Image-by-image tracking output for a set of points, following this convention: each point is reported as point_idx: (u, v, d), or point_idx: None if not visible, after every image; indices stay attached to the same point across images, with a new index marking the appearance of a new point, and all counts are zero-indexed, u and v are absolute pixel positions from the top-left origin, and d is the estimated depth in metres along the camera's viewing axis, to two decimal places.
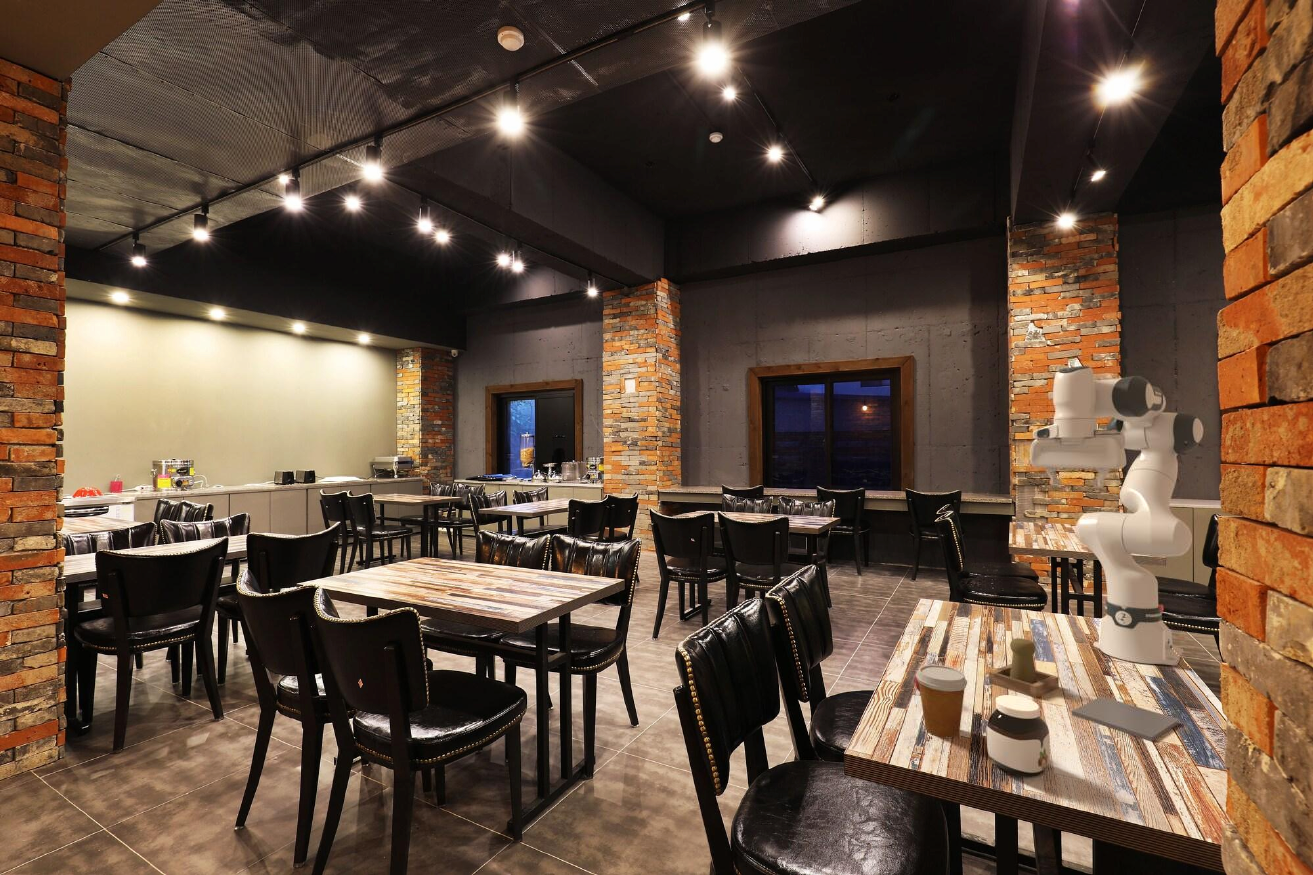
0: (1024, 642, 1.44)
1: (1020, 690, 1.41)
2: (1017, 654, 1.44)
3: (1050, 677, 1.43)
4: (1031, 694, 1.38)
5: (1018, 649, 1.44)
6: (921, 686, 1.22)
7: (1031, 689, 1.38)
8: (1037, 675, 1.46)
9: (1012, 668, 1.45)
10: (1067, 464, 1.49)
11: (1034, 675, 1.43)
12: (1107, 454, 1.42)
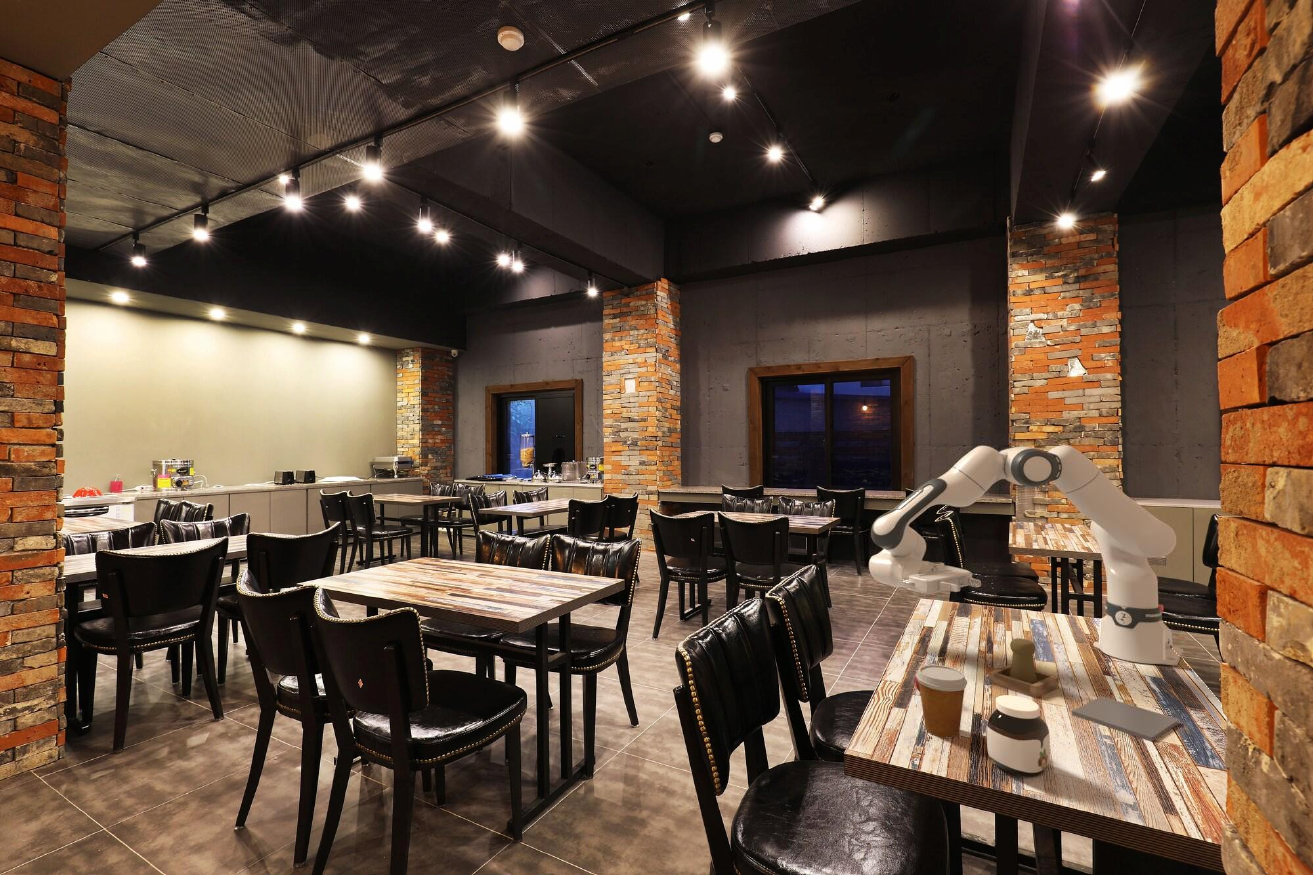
0: (1024, 642, 1.44)
1: (1020, 690, 1.41)
2: (1017, 654, 1.44)
3: (1050, 677, 1.43)
4: (1031, 694, 1.38)
5: (1018, 649, 1.44)
6: (921, 686, 1.22)
7: (1031, 689, 1.38)
8: (1037, 675, 1.46)
9: (1012, 668, 1.45)
10: None
11: (1034, 675, 1.43)
12: None
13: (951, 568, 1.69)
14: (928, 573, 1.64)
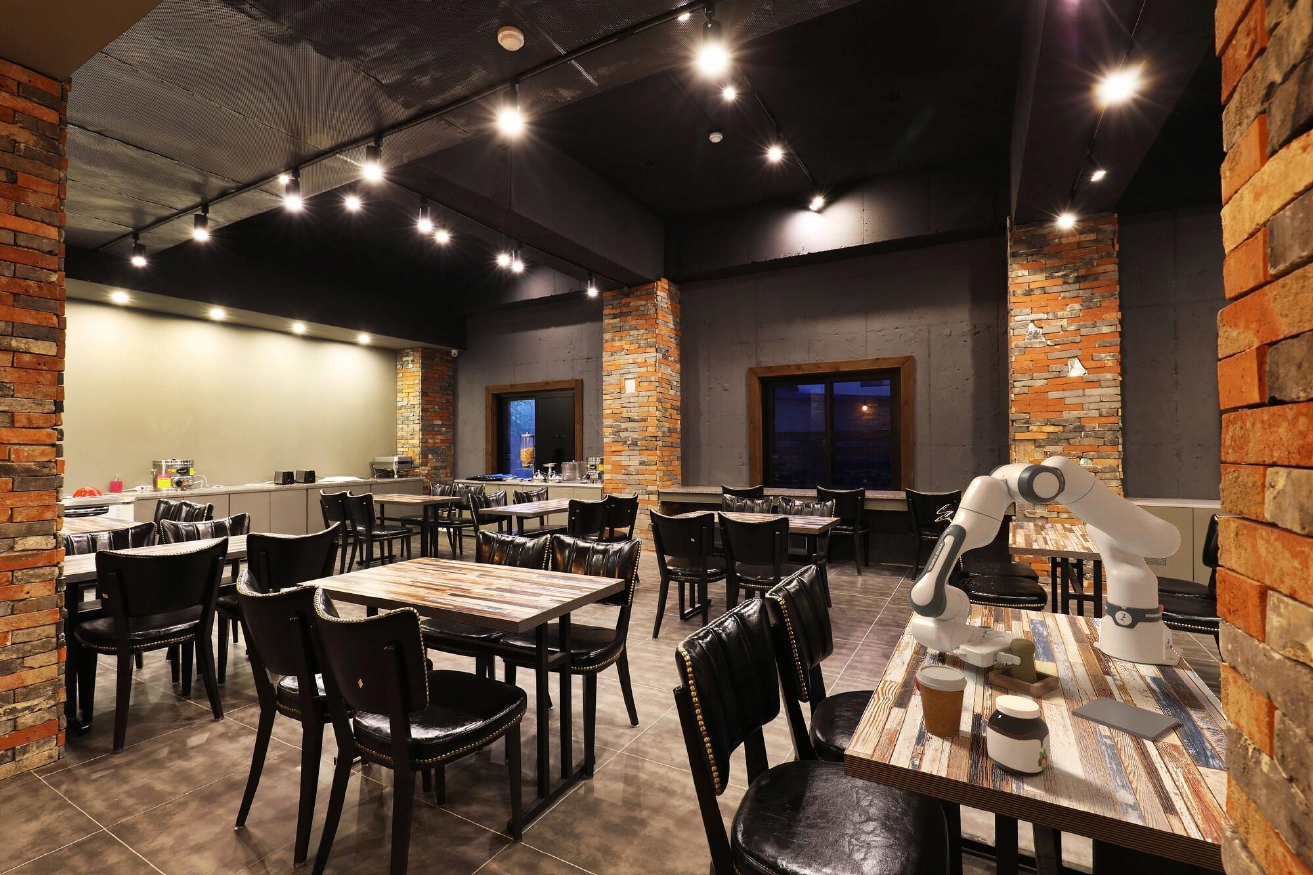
0: (1024, 642, 1.44)
1: (1020, 690, 1.41)
2: (1017, 654, 1.44)
3: (1050, 677, 1.43)
4: (1031, 694, 1.38)
5: (1018, 649, 1.44)
6: (921, 686, 1.22)
7: (1031, 689, 1.38)
8: (1037, 675, 1.46)
9: (1012, 668, 1.45)
10: None
11: (1034, 675, 1.43)
12: None
13: (1003, 633, 1.57)
14: (979, 641, 1.52)
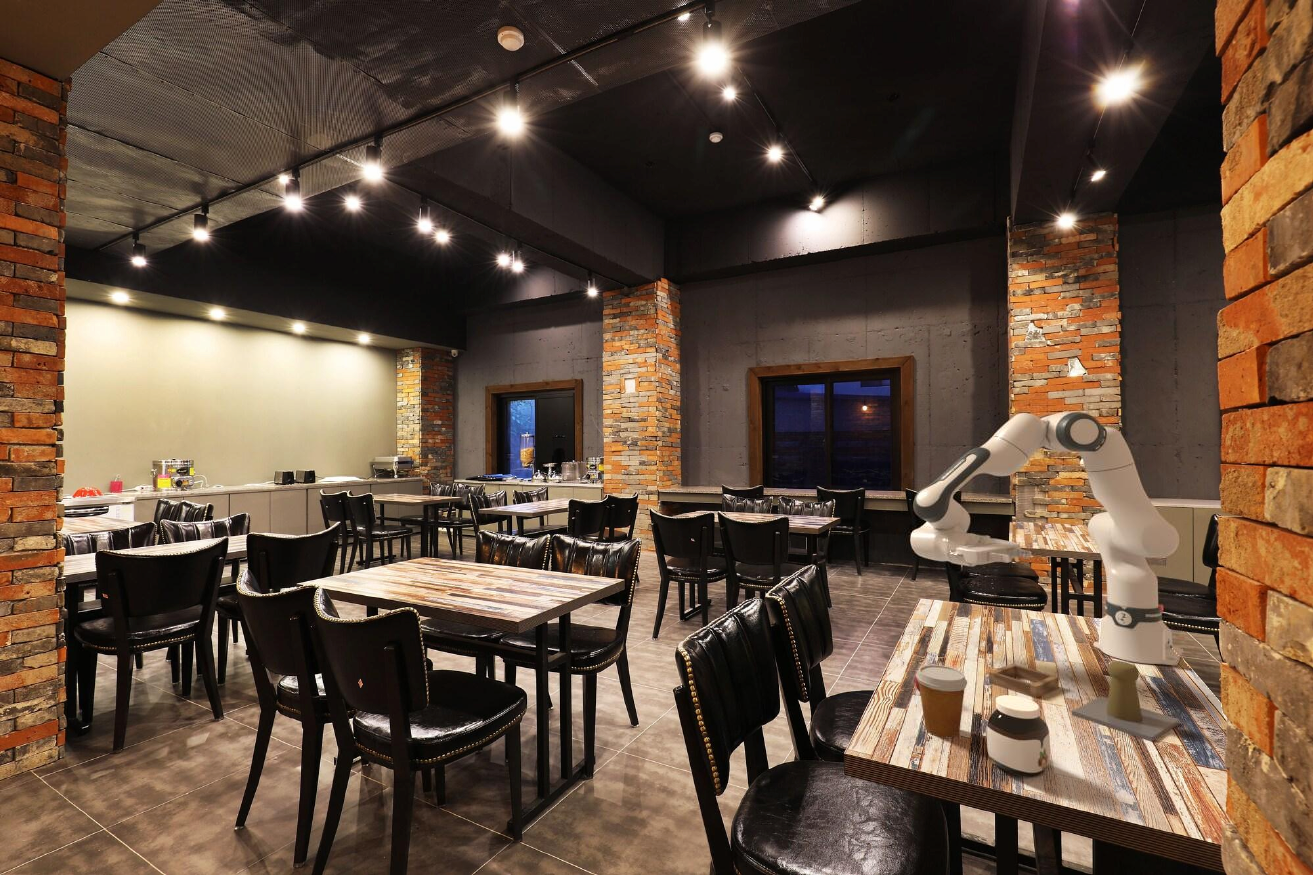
0: (1126, 667, 1.25)
1: (1020, 690, 1.41)
2: (1117, 680, 1.26)
3: (1050, 677, 1.43)
4: (1031, 694, 1.38)
5: (1118, 674, 1.25)
6: (921, 686, 1.22)
7: (1031, 689, 1.38)
8: (1037, 675, 1.46)
9: (1111, 696, 1.27)
10: None
11: (1138, 704, 1.25)
12: None
13: (998, 541, 1.64)
14: (975, 545, 1.59)
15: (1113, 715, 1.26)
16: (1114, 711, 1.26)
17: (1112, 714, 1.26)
